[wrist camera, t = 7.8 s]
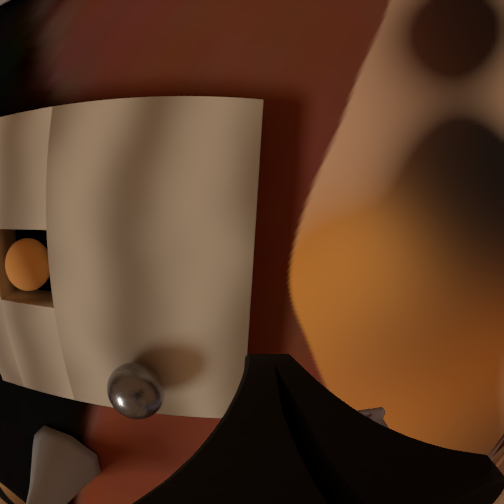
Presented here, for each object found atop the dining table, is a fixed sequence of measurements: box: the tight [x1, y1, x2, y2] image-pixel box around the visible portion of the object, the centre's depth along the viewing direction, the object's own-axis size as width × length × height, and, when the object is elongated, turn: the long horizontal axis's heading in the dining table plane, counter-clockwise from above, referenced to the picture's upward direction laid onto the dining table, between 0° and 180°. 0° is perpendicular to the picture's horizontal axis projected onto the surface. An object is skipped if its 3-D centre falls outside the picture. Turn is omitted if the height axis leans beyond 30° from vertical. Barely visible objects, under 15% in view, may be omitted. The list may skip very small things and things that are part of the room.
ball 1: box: [5, 238, 50, 291], centre depth 15 cm, size 3×3×3 cm
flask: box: [26, 426, 101, 504], centre depth 16 cm, size 7×7×10 cm
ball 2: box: [107, 362, 165, 419], centre depth 15 cm, size 3×3×3 cm
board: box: [0, 96, 263, 418], centre depth 16 cm, size 18×18×2 cm
